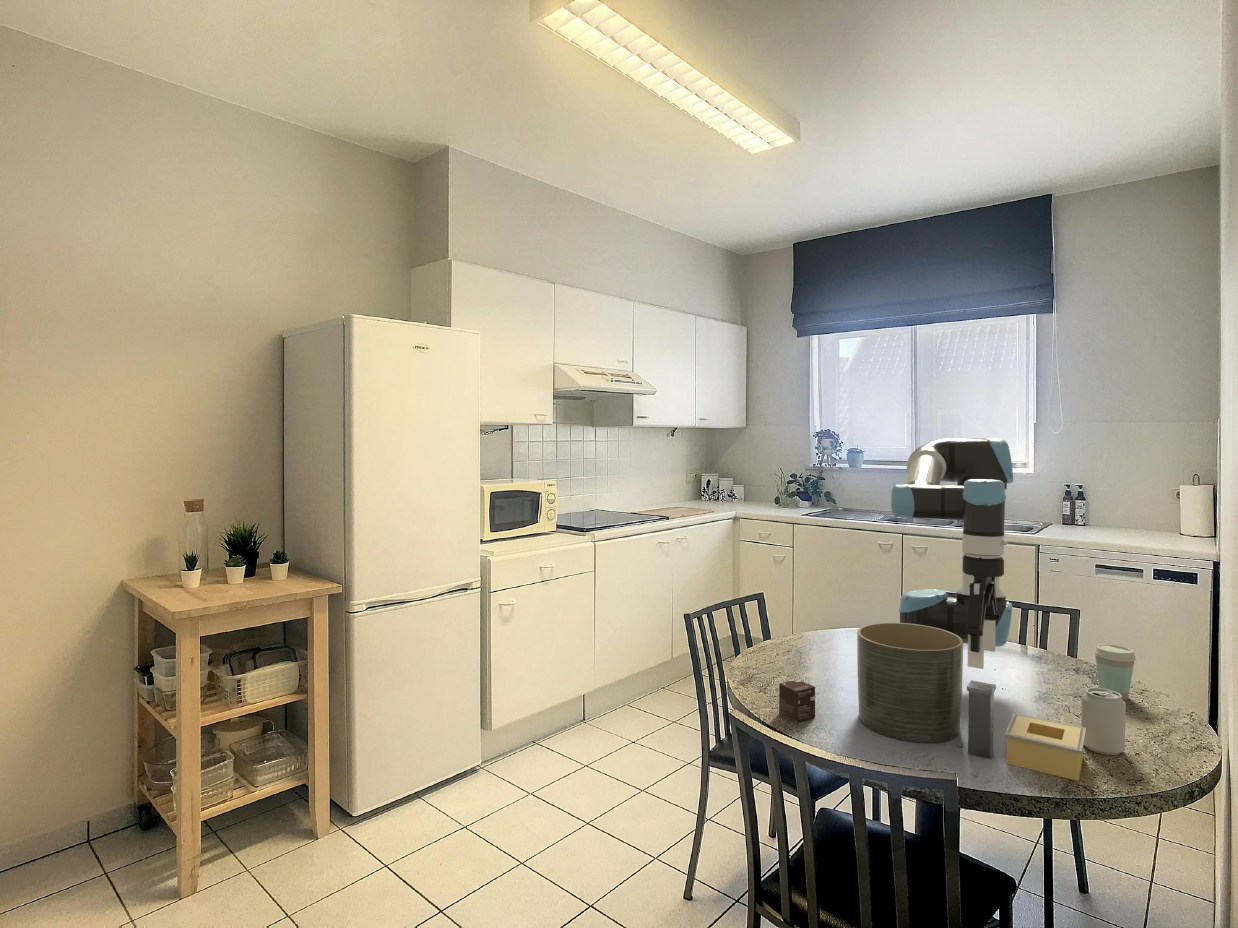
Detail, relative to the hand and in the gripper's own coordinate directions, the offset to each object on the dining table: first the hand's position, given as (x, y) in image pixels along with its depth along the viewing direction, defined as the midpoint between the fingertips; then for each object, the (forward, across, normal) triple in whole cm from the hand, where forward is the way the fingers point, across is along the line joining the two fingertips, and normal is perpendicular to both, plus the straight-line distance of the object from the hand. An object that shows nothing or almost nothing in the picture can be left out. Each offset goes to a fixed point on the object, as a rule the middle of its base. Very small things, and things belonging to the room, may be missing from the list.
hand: (981, 658), depth 141 cm
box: (+20, -4, +38) cm, 43 cm away
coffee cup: (+20, +54, -21) cm, 61 cm away
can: (+20, +17, -20) cm, 33 cm away
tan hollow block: (+20, +4, -11) cm, 23 cm away
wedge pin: (+20, 0, 0) cm, 20 cm away
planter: (+20, +7, +16) cm, 27 cm away
